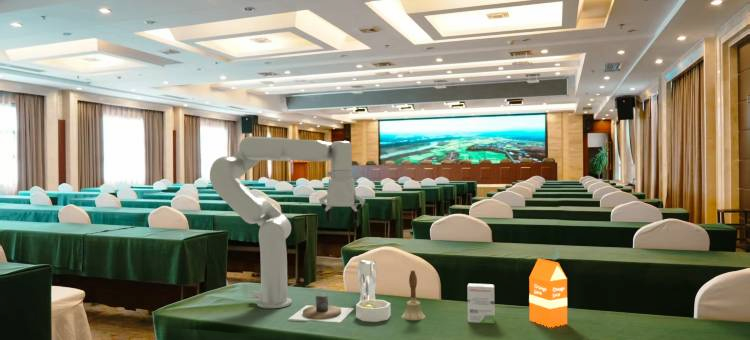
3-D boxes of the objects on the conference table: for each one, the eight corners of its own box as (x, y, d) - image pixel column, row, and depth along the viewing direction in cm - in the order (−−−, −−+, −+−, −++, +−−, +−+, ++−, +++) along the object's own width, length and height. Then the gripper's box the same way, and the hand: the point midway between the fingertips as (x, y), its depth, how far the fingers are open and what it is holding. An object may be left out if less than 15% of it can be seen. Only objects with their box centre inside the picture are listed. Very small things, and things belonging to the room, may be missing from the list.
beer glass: (378, 299, 195) (377, 260, 195) (376, 304, 188) (375, 263, 188) (359, 299, 196) (359, 259, 195) (357, 304, 189) (356, 263, 188)
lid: (296, 317, 171) (296, 299, 171) (311, 306, 184) (311, 290, 184) (333, 320, 168) (333, 302, 168) (346, 309, 181) (345, 292, 181)
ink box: (494, 319, 169) (494, 283, 169) (494, 324, 165) (494, 287, 164) (468, 317, 171) (468, 282, 171) (467, 322, 167) (467, 286, 166)
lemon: (372, 314, 170) (369, 303, 171) (362, 317, 171) (360, 306, 172) (376, 314, 173) (374, 303, 174) (367, 316, 174) (364, 306, 175)
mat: (288, 320, 170) (288, 318, 170) (306, 307, 186) (306, 305, 186) (340, 324, 166) (340, 322, 166) (354, 309, 182) (354, 308, 182)
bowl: (353, 322, 168) (353, 307, 168) (362, 313, 178) (362, 298, 178) (385, 325, 165) (385, 309, 165) (392, 315, 175) (392, 300, 175)
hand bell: (427, 321, 168) (427, 273, 167) (402, 322, 167) (402, 273, 167) (423, 314, 176) (423, 267, 175) (399, 315, 175) (399, 268, 175)
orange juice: (549, 328, 160) (549, 264, 160) (529, 320, 168) (528, 259, 167) (567, 324, 164) (567, 261, 163) (546, 316, 171) (546, 256, 171)
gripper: (315, 175, 186) (316, 222, 187) (361, 175, 182) (362, 223, 183) (322, 174, 194) (323, 220, 194) (367, 174, 189) (367, 221, 190)
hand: (342, 221), depth 188 cm, fingers open, 9 cm apart
